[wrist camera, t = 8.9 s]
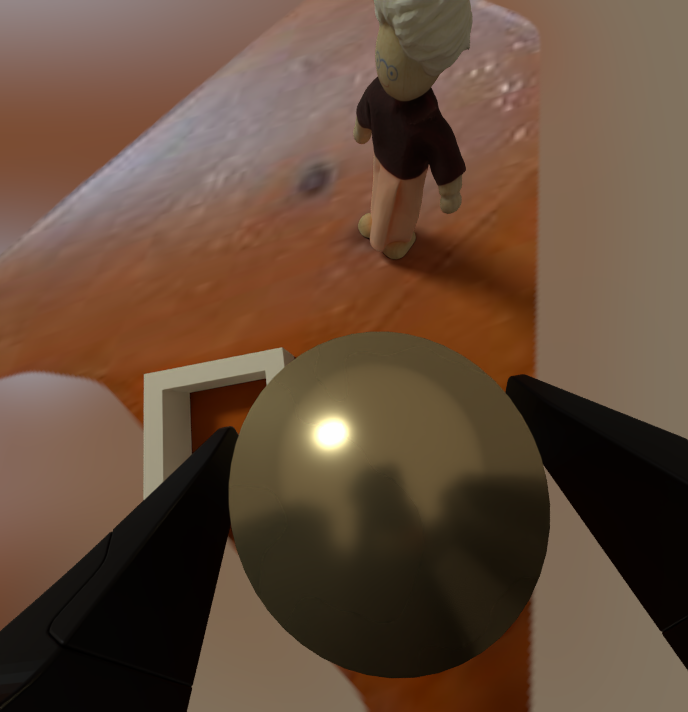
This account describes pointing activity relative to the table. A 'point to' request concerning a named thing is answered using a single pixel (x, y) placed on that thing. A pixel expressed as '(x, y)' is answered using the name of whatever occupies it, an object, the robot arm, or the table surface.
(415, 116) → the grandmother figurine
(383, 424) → the light bulb
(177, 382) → the socket
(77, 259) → the table surface
